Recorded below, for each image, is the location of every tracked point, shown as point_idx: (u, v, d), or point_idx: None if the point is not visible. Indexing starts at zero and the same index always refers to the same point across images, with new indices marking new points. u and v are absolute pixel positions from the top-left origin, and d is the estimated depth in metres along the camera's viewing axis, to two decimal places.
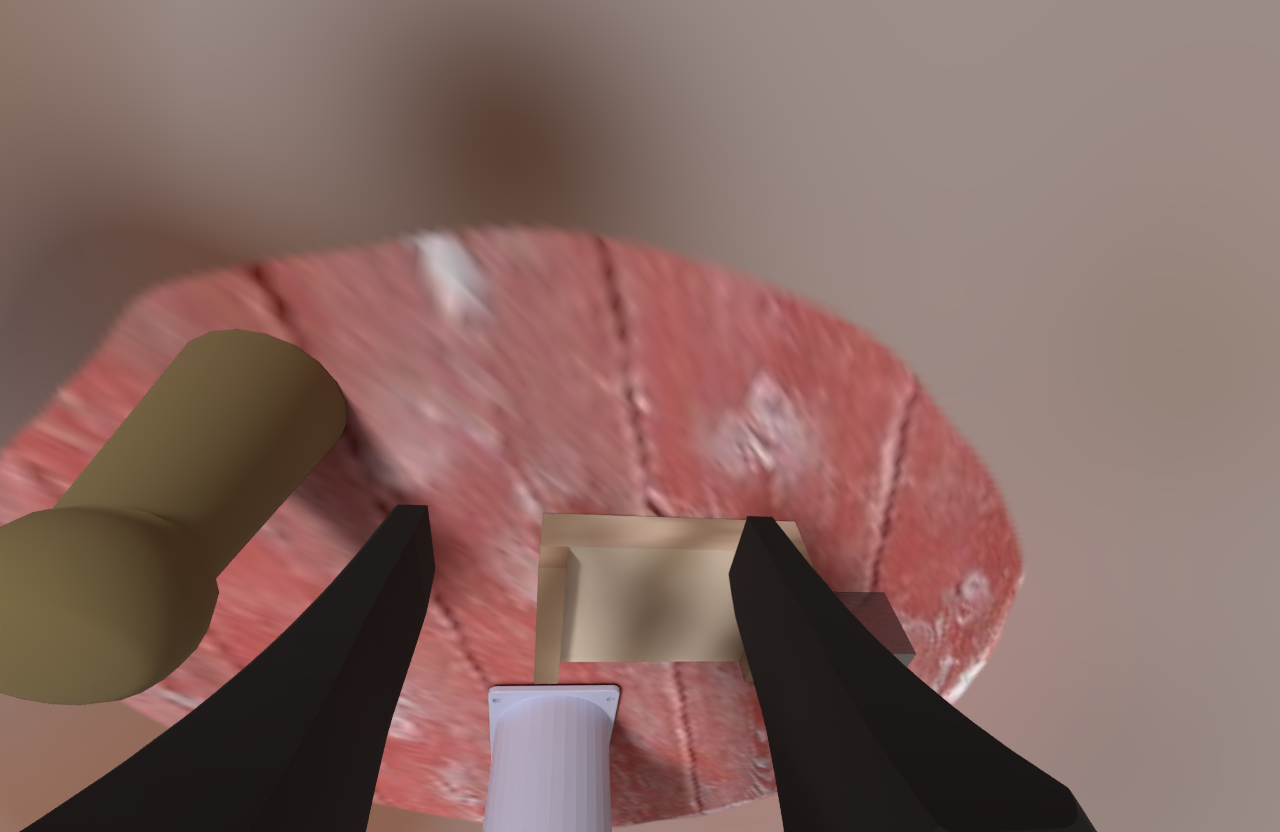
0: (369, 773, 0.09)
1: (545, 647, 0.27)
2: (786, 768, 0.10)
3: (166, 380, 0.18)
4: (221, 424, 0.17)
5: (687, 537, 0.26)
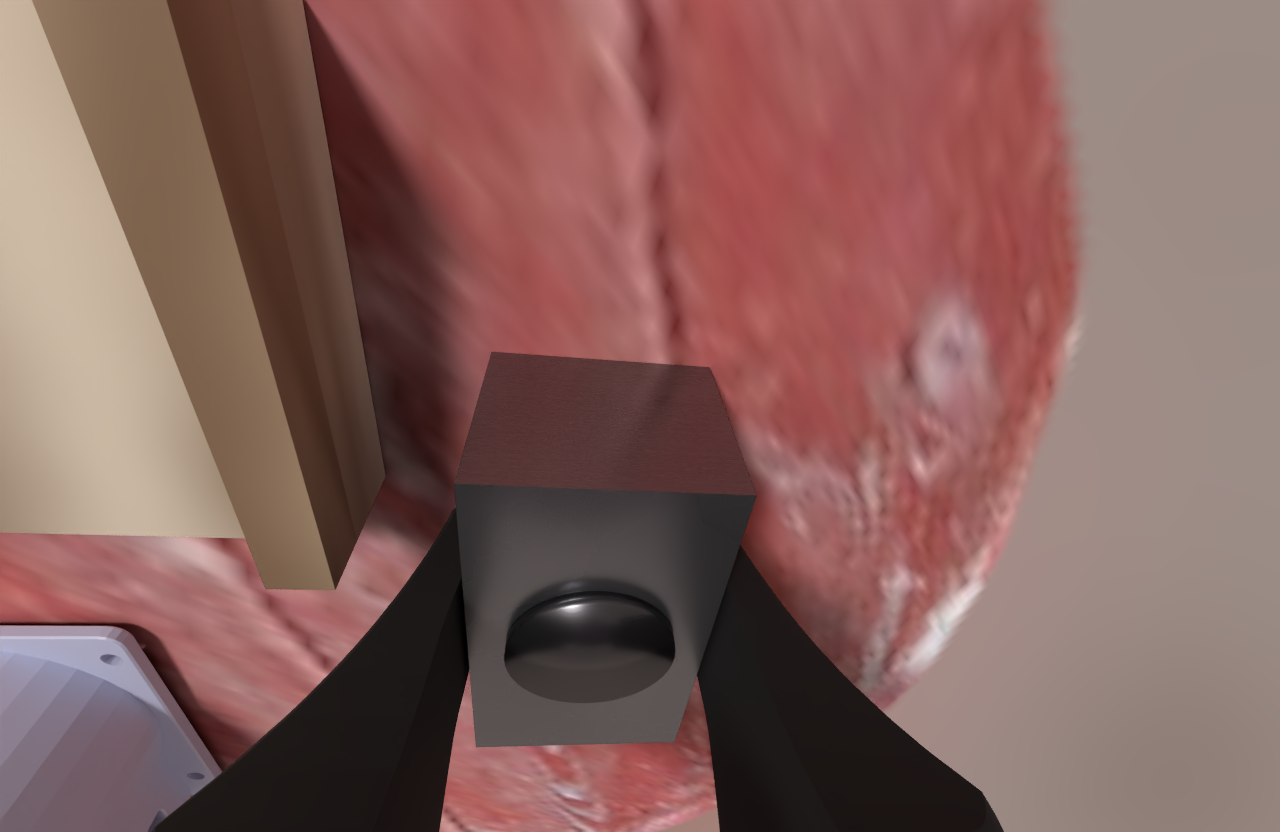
0: (442, 771, 0.10)
1: None
2: (722, 770, 0.10)
3: None
4: None
5: None
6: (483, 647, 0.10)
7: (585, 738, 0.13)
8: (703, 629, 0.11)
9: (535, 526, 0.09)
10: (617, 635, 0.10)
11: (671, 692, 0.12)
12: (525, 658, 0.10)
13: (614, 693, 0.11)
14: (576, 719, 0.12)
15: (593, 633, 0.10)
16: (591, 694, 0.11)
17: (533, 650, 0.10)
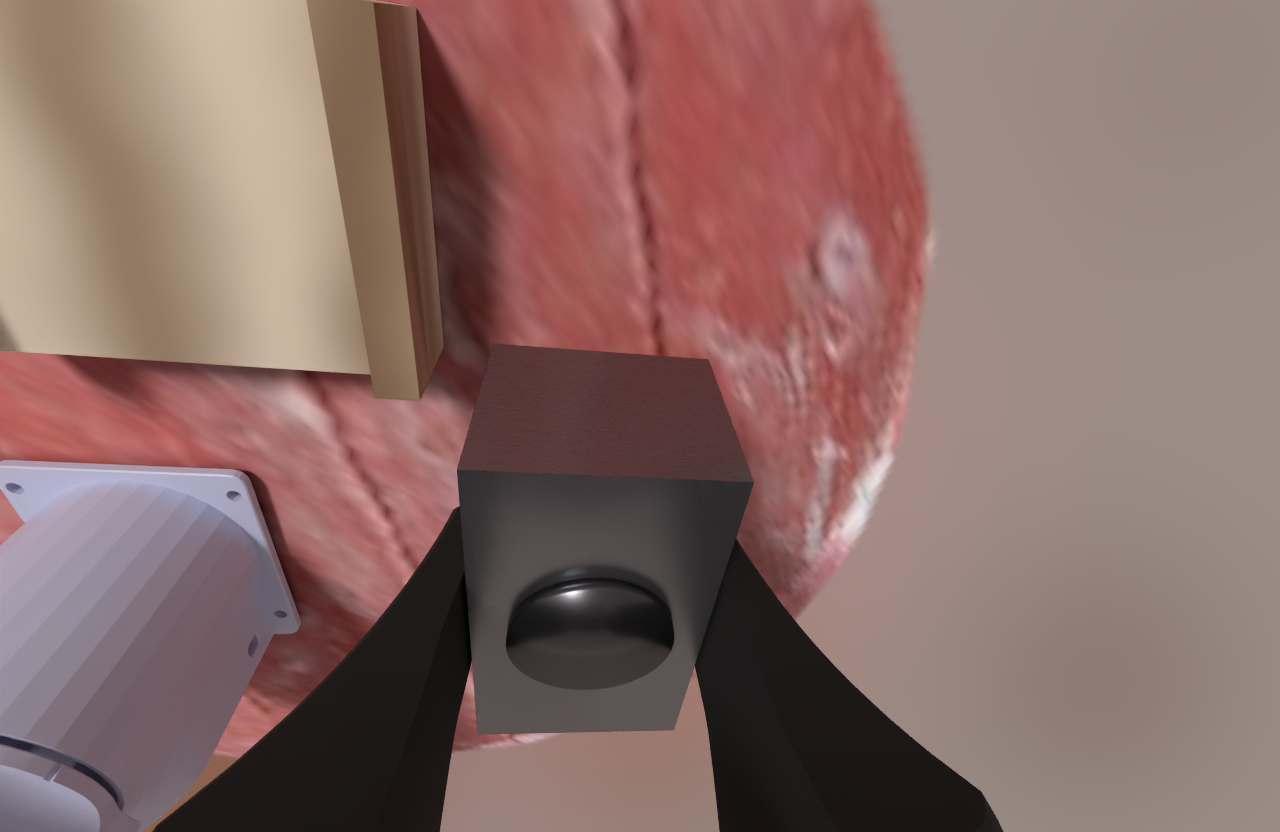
0: (443, 771, 0.10)
1: None
2: (722, 770, 0.10)
3: None
4: None
5: None
6: (485, 634, 0.11)
7: (585, 726, 0.13)
8: (702, 616, 0.11)
9: (536, 512, 0.09)
10: (617, 621, 0.10)
11: (670, 680, 0.12)
12: (526, 644, 0.10)
13: (614, 680, 0.11)
14: (577, 707, 0.12)
15: (594, 619, 0.10)
16: (591, 680, 0.11)
17: (534, 635, 0.10)
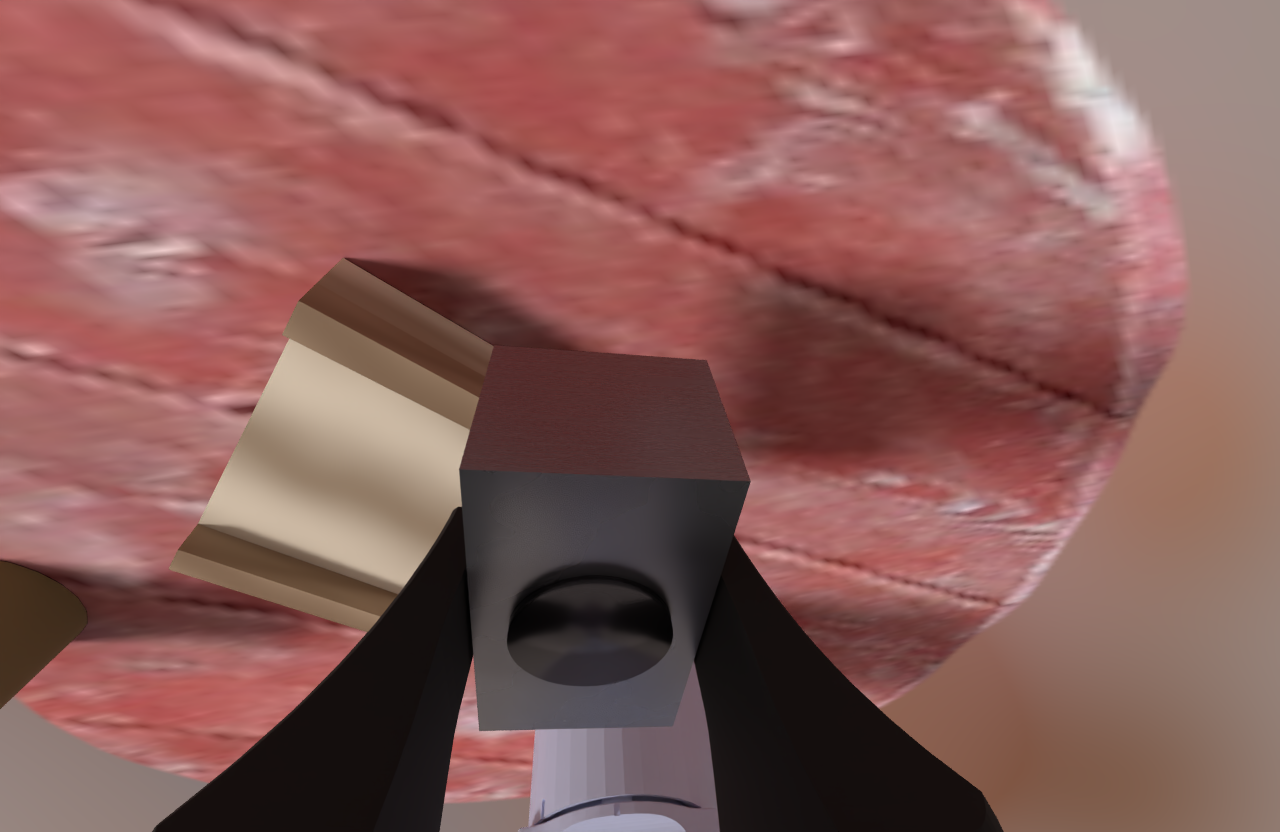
0: (443, 771, 0.10)
1: (339, 615, 0.21)
2: (722, 770, 0.10)
3: None
4: None
5: None
6: (487, 631, 0.11)
7: (585, 722, 0.13)
8: (700, 613, 0.11)
9: (537, 511, 0.09)
10: (616, 618, 0.10)
11: (669, 676, 0.12)
12: (527, 641, 0.11)
13: (614, 676, 0.12)
14: (577, 702, 0.13)
15: (593, 617, 0.10)
16: (591, 678, 0.11)
17: (535, 633, 0.10)
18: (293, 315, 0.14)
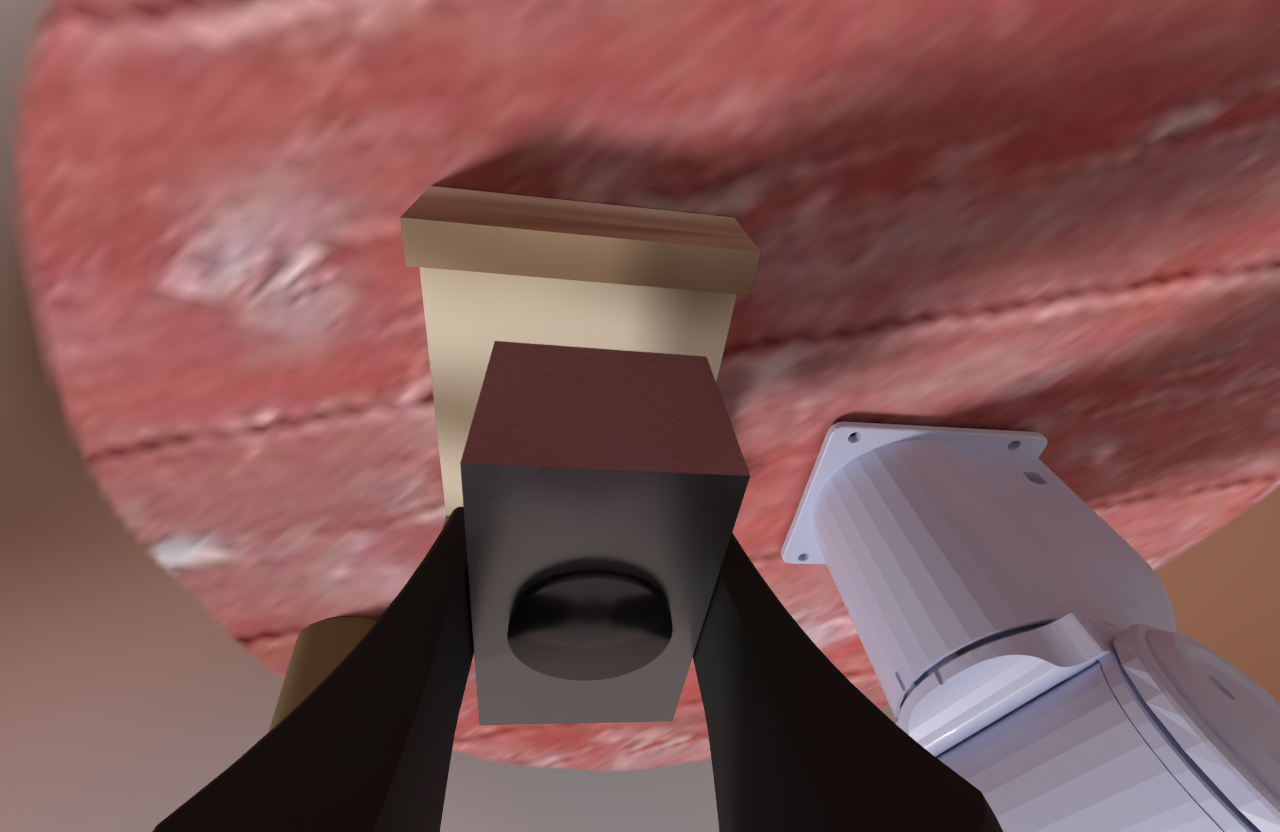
0: (443, 771, 0.10)
1: None
2: (722, 770, 0.10)
3: None
4: (269, 730, 0.24)
5: None
6: (488, 625, 0.11)
7: (585, 716, 0.13)
8: (699, 608, 0.11)
9: (537, 505, 0.09)
10: (616, 613, 0.10)
11: (669, 671, 0.12)
12: (528, 635, 0.11)
13: (614, 671, 0.12)
14: (577, 697, 0.13)
15: (593, 611, 0.10)
16: (591, 672, 0.12)
17: (535, 626, 0.10)
18: (404, 237, 0.14)
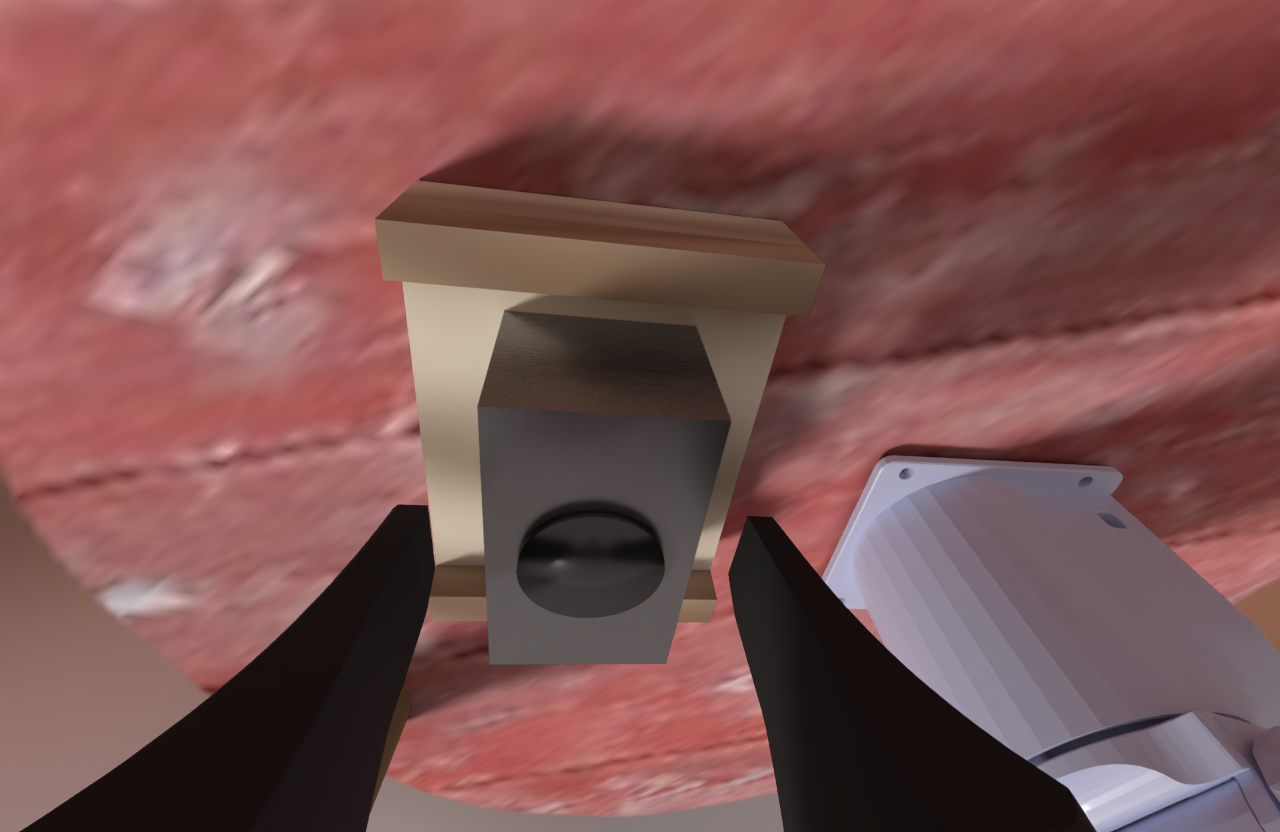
0: (369, 773, 0.09)
1: None
2: (786, 768, 0.10)
3: None
4: None
5: None
6: (499, 564, 0.12)
7: (586, 658, 0.14)
8: (689, 549, 0.12)
9: (544, 447, 0.10)
10: (614, 550, 0.12)
11: (662, 612, 0.14)
12: (534, 571, 0.12)
13: (612, 609, 0.13)
14: (578, 638, 0.14)
15: (593, 548, 0.12)
16: (592, 609, 0.13)
17: (541, 563, 0.12)
18: (380, 244, 0.11)
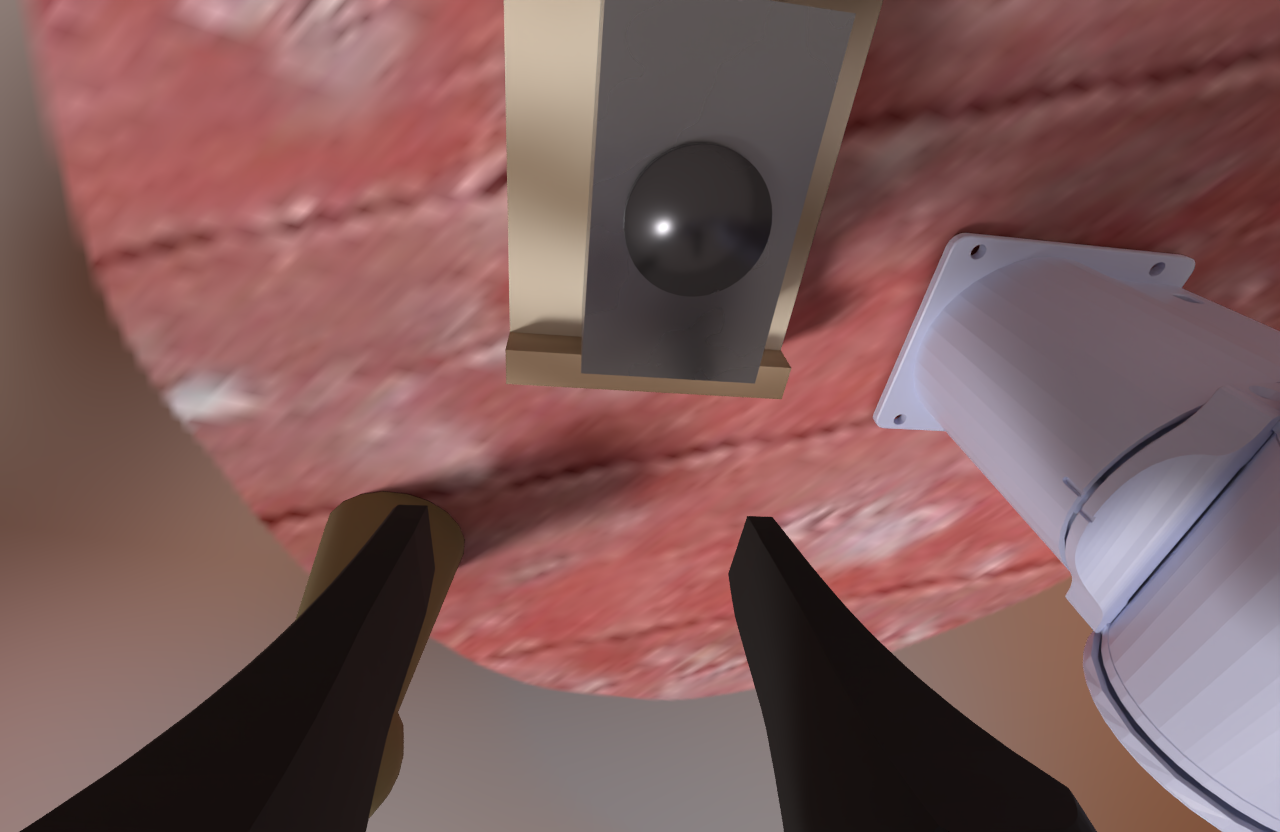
0: (369, 773, 0.09)
1: (688, 382, 0.18)
2: (786, 768, 0.10)
3: None
4: None
5: None
6: (604, 219, 0.12)
7: (677, 369, 0.14)
8: (794, 210, 0.12)
9: (666, 42, 0.10)
10: (724, 192, 0.12)
11: (759, 304, 0.13)
12: (642, 220, 0.12)
13: (713, 284, 0.13)
14: (672, 338, 0.14)
15: (704, 188, 0.11)
16: (693, 283, 0.13)
17: (650, 208, 0.12)
18: None
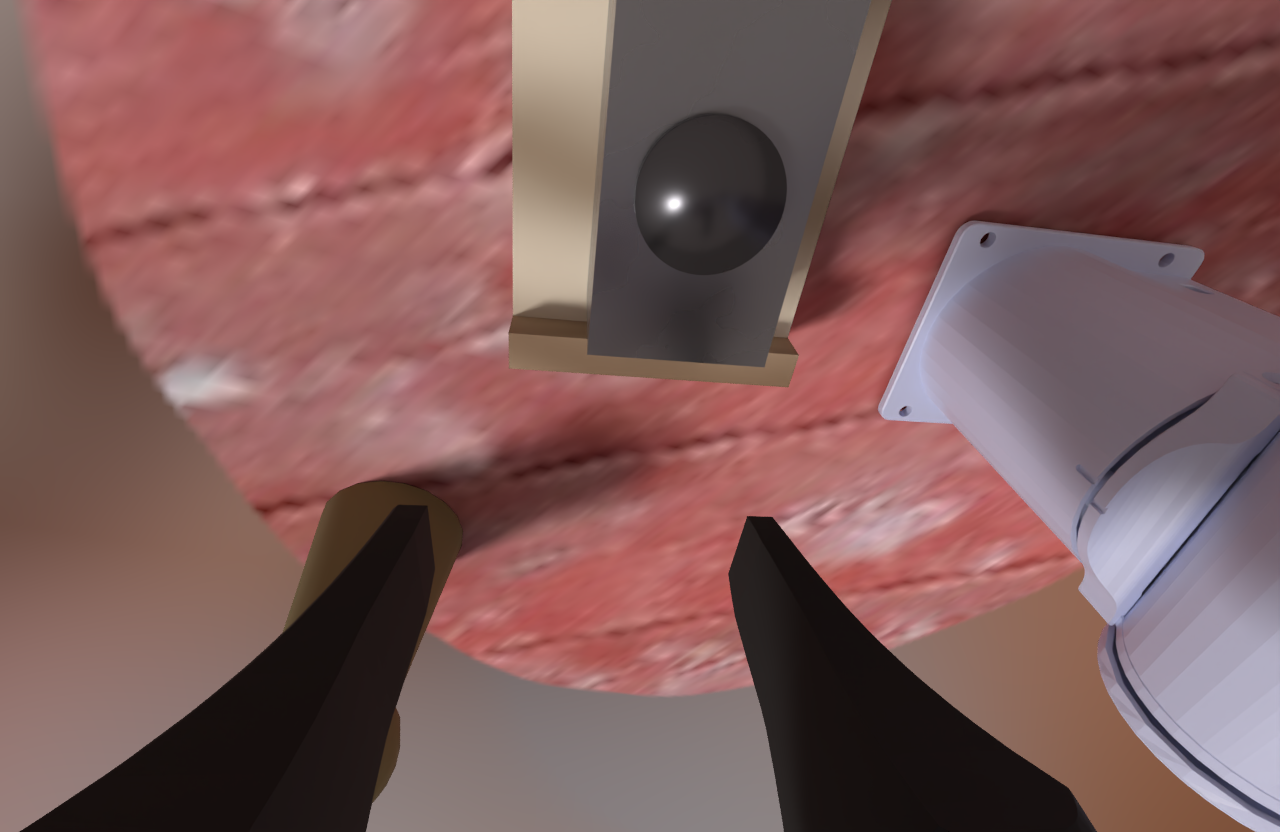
0: (369, 773, 0.09)
1: (694, 368, 0.18)
2: (786, 768, 0.10)
3: None
4: (295, 594, 0.20)
5: None
6: (614, 193, 0.12)
7: (685, 352, 0.14)
8: (809, 186, 0.12)
9: (682, 6, 0.10)
10: (738, 166, 0.11)
11: (770, 284, 0.13)
12: (654, 194, 0.11)
13: (725, 262, 0.12)
14: (681, 319, 0.13)
15: (718, 161, 0.11)
16: (704, 261, 0.12)
17: (663, 181, 0.11)
18: None
